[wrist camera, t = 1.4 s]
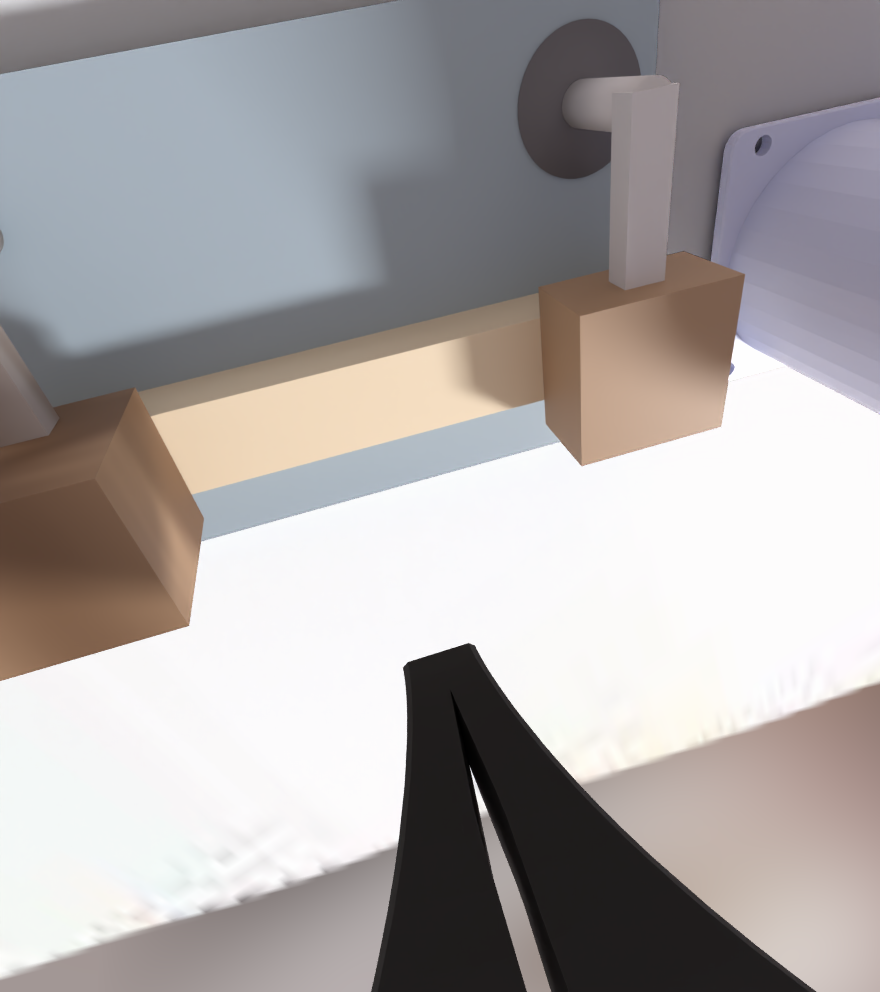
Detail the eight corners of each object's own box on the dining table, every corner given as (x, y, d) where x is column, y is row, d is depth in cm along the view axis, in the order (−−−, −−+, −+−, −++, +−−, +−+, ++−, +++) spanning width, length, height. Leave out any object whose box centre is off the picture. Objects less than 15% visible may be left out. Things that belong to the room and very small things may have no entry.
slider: (58, 188, 12) (-58, 240, 8) (208, 487, 17) (188, 625, 13) (-142, 229, 12) (-385, 311, 7) (69, 525, 17) (-1, 681, 12)
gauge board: (634, -40, 14) (804, -100, 9) (619, 405, 21) (711, 486, 17) (-506, 174, 11) (-988, 224, 7) (-77, 596, 18) (-181, 749, 14)
